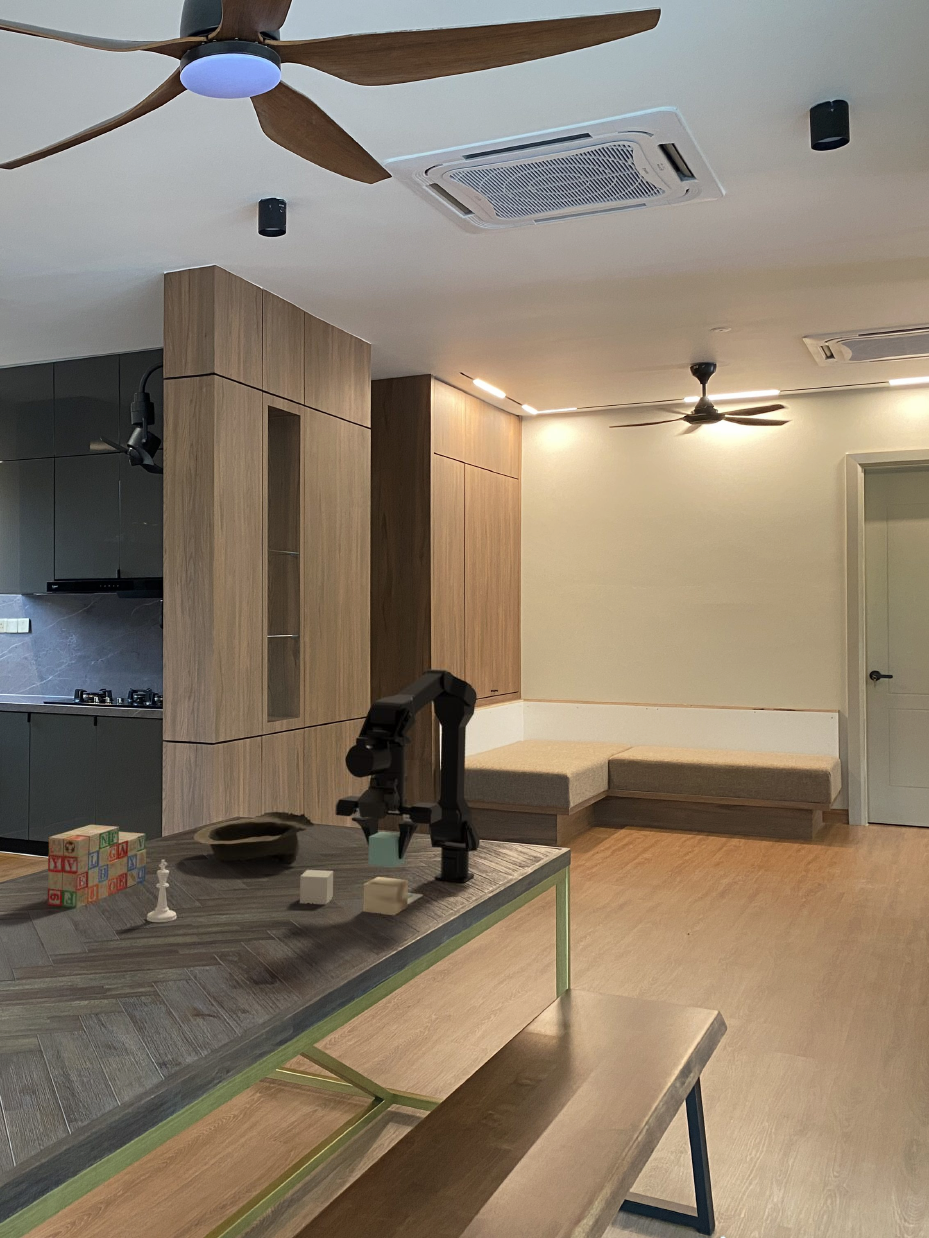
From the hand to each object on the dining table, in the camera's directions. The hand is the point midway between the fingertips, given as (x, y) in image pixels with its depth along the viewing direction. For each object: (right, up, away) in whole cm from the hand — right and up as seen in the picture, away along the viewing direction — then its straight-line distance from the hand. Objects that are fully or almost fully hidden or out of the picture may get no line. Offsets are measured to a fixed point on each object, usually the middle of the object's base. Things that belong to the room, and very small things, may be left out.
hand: (387, 857), depth 192 cm
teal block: (0, -1, 0) cm, 1 cm away
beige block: (-13, -9, +5) cm, 17 cm away
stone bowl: (-32, -9, +36) cm, 49 cm away
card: (+2, -9, +8) cm, 12 cm away
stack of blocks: (-54, -8, +6) cm, 55 cm away
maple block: (0, -9, 0) cm, 9 cm away
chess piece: (-38, -9, -10) cm, 40 cm away
